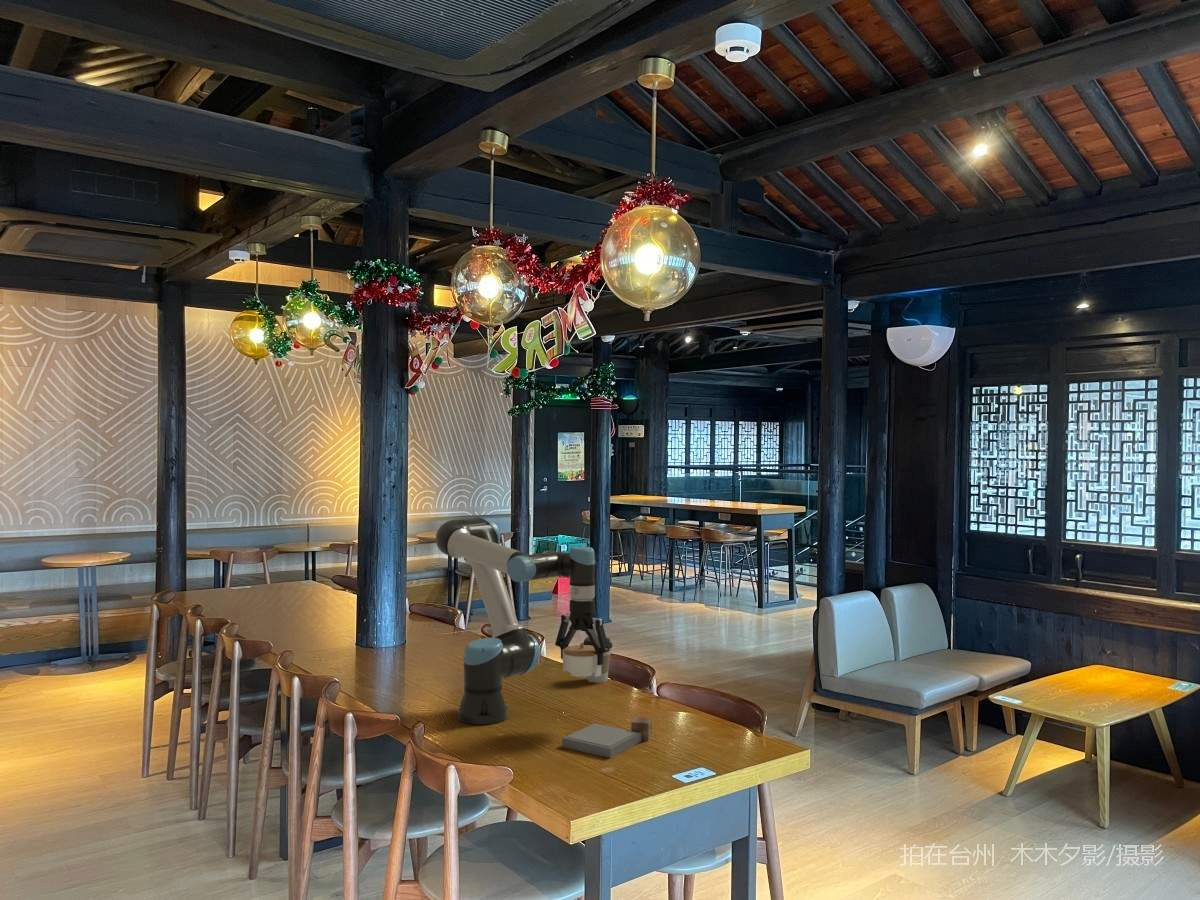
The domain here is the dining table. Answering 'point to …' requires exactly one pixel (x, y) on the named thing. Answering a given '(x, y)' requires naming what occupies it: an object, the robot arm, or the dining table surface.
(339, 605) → the dining table surface
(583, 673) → the lidded jar
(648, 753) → the dining table surface
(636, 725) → the walnut block
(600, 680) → the coffee cup
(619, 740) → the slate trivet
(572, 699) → the dining table surface
